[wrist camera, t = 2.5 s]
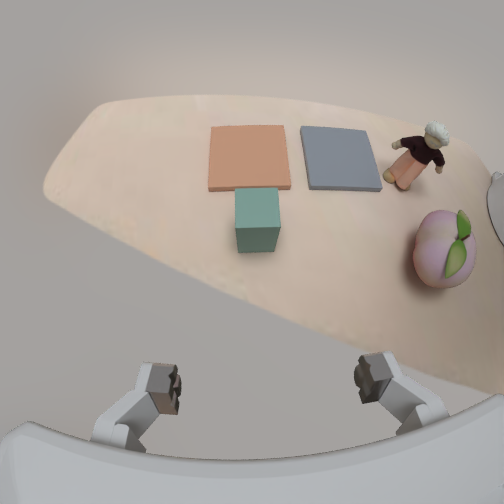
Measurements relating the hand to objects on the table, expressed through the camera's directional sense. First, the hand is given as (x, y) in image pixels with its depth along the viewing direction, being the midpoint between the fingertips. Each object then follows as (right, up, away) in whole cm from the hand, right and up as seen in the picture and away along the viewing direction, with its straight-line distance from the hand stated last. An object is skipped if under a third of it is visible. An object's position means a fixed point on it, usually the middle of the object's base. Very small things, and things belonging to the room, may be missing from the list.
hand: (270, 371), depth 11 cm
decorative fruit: (+22, +4, +21) cm, 30 cm away
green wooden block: (0, +7, +21) cm, 22 cm away
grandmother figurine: (+20, +15, +24) cm, 35 cm away
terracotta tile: (-1, +18, +24) cm, 30 cm away
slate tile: (+11, +18, +25) cm, 32 cm away
